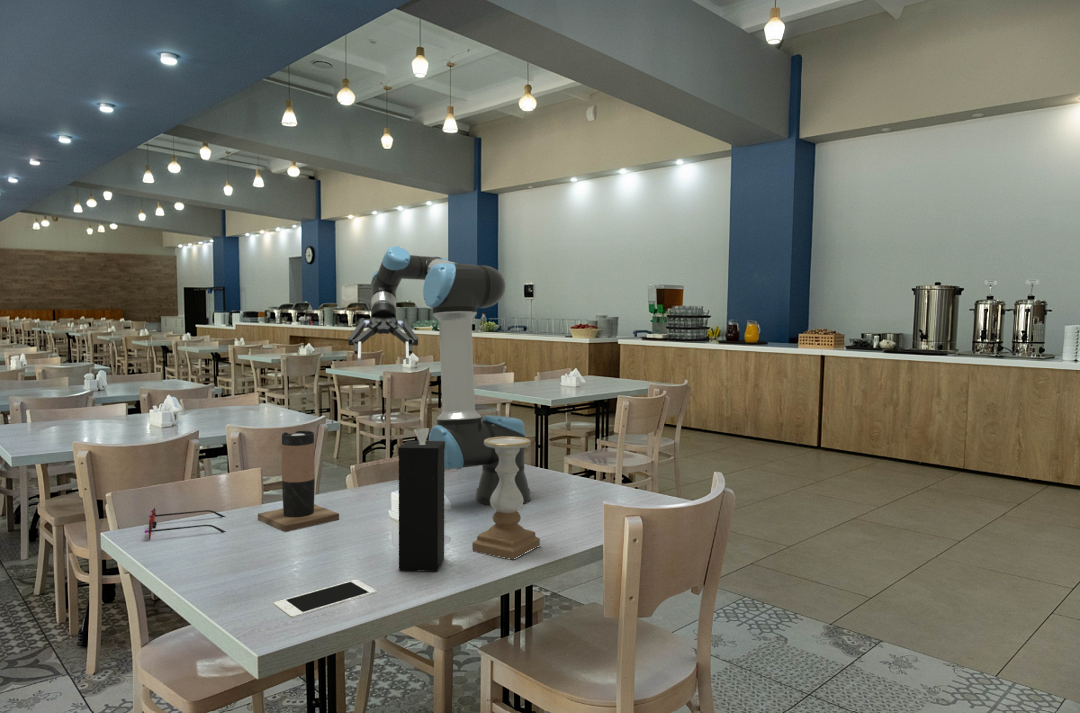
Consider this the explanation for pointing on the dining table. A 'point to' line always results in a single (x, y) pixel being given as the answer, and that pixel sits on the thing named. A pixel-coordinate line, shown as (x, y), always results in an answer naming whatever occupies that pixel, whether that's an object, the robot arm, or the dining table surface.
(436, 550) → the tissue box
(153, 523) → the glasses
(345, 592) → the cell phone
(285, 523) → the walnut board
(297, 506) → the travel mug
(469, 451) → the robot arm
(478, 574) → the dining table surface
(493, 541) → the candle holder
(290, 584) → the dining table surface
